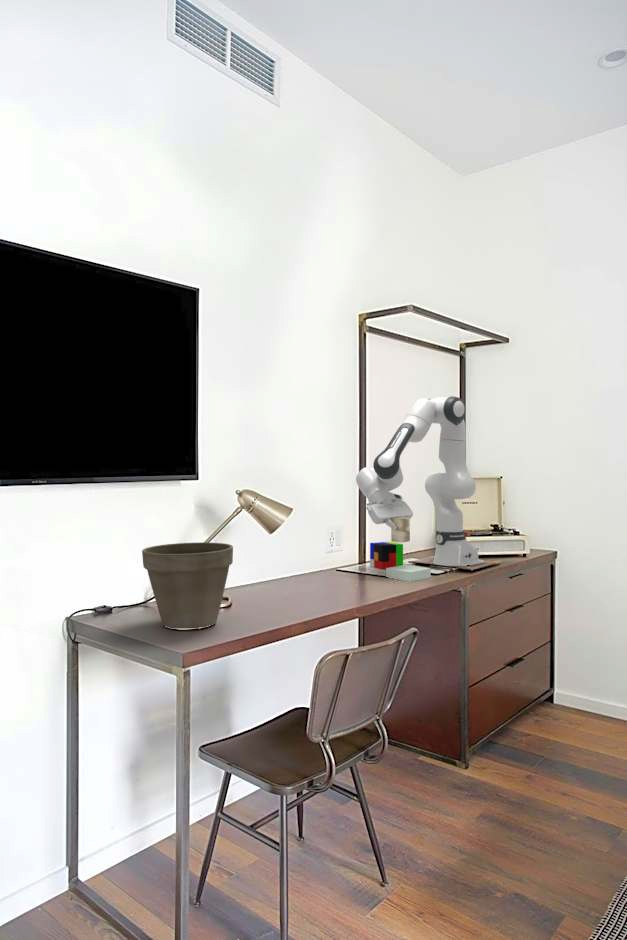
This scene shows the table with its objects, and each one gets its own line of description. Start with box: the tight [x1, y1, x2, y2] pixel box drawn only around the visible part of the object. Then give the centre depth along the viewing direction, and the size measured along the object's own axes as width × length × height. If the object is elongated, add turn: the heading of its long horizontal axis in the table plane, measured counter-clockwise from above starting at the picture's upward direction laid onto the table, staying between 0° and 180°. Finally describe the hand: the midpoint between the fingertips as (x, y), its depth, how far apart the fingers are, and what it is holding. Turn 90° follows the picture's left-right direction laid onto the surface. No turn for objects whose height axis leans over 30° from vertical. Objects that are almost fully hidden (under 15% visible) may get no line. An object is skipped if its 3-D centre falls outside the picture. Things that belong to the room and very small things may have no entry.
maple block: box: [390, 517, 411, 544], centre depth 263 cm, size 5×5×9 cm
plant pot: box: [141, 542, 234, 628], centre depth 190 cm, size 25×25×22 cm
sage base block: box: [385, 564, 432, 583], centre depth 262 cm, size 12×12×4 cm
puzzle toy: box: [369, 541, 404, 570], centre depth 287 cm, size 10×10×10 cm
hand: (401, 528), depth 262 cm, fingers closed on maple block, 5 cm apart
